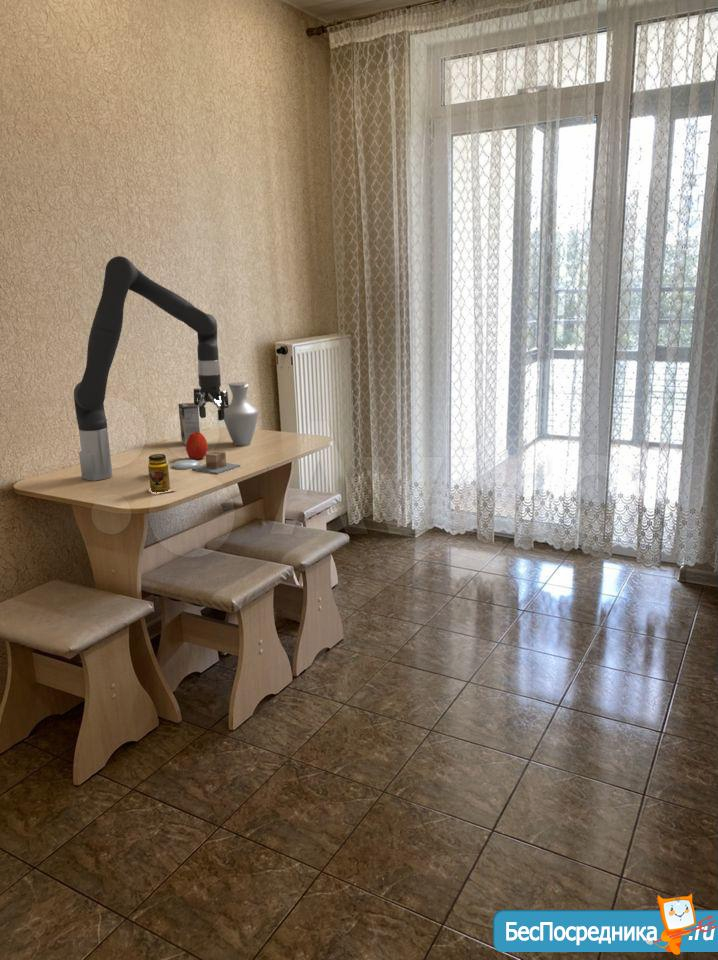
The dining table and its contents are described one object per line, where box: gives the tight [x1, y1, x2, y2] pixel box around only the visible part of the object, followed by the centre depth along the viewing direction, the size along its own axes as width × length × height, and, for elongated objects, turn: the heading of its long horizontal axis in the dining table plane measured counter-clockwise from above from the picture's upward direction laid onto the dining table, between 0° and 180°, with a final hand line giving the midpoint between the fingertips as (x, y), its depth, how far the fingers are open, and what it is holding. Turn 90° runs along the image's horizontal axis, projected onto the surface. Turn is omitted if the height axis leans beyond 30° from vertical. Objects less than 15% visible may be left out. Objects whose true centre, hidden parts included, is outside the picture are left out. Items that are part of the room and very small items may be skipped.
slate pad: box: [191, 462, 241, 475], centre depth 257 cm, size 12×12×1 cm
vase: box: [223, 381, 259, 447], centre depth 290 cm, size 14×14×25 cm
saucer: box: [173, 459, 200, 470], centre depth 261 cm, size 9×9×1 cm
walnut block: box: [205, 450, 227, 469], centre depth 256 cm, size 5×5×5 cm
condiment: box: [147, 453, 171, 493], centre depth 230 cm, size 7×8×12 cm
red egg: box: [185, 431, 209, 460], centre depth 270 cm, size 8×8×11 cm
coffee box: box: [178, 402, 201, 446], centre depth 294 cm, size 9×6×16 cm
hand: (212, 418), depth 252 cm, fingers open, 8 cm apart
